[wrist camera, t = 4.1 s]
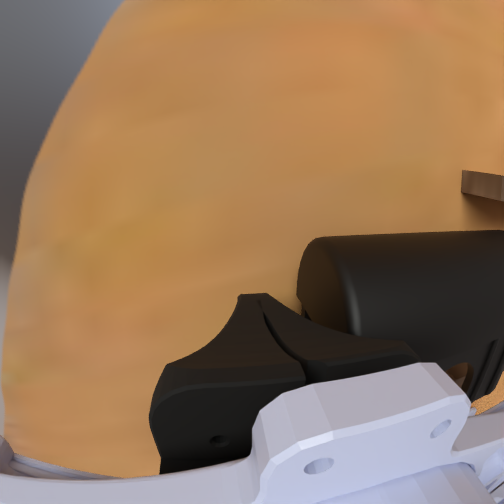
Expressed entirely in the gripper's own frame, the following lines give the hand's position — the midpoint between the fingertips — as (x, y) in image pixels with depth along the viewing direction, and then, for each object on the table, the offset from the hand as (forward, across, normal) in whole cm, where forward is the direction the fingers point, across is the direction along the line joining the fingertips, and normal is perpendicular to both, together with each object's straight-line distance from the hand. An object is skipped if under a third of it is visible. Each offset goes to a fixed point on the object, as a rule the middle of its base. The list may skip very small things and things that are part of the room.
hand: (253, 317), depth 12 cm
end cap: (+2, -7, 0) cm, 7 cm away
